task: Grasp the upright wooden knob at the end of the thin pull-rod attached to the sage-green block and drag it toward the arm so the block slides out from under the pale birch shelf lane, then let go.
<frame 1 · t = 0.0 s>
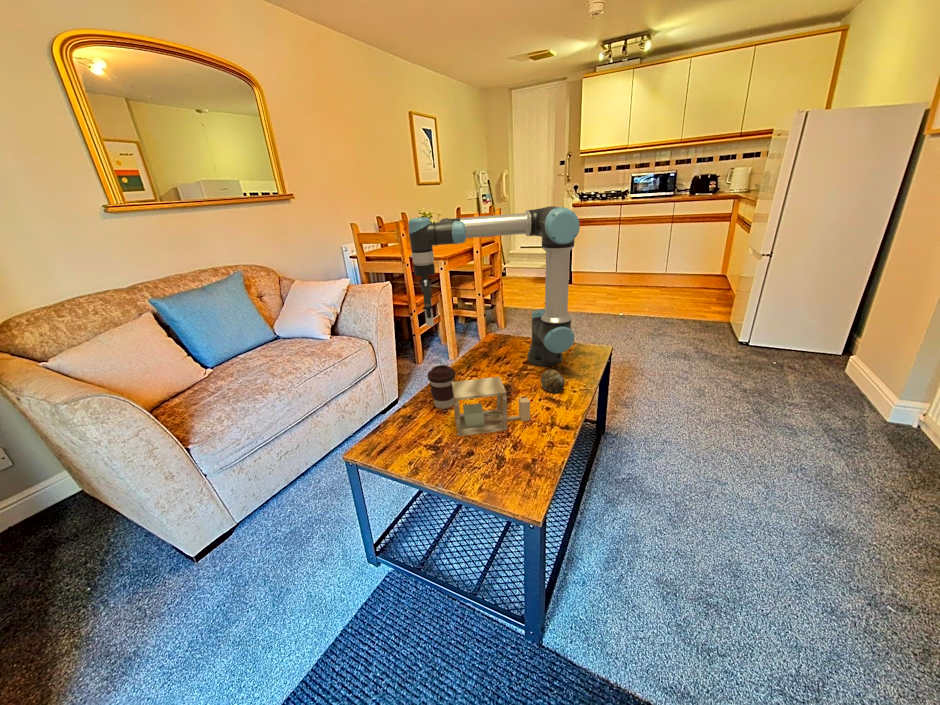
hand: (429, 320, 149), 28 cm above the table, fingers open, 13 cm apart
tethered block: (474, 424, 130), point 1 cm above the table, touching shelf lane
shelf lane: (480, 426, 131), on the table
seashell: (552, 389, 151), on the table
coffee cup: (444, 406, 145), on the table
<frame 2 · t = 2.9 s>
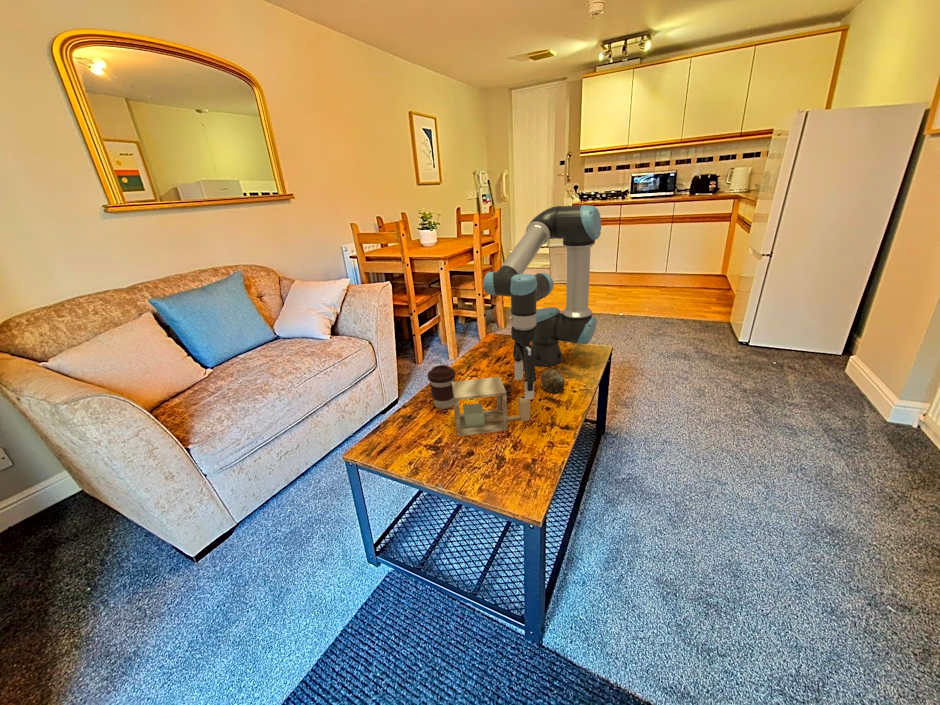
hand: (523, 388, 127), 12 cm above the table, fingers open, 13 cm apart
nothing on the table moved.
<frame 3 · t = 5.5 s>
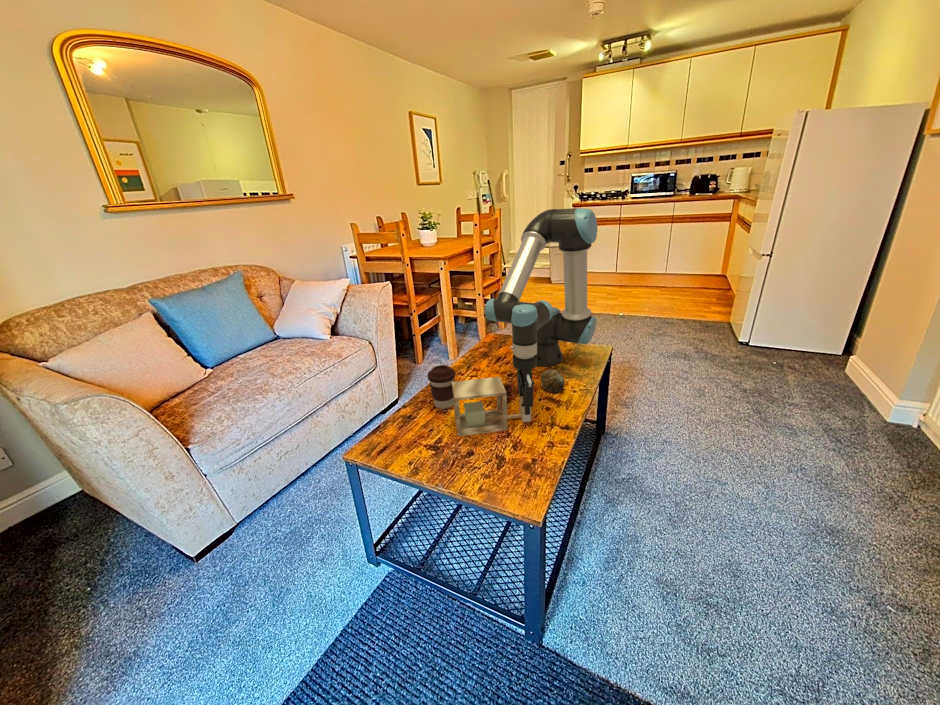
hand: (525, 418, 132), 1 cm above the table, fingers closed on tethered block, 3 cm apart
tethered block: (475, 422, 130), point 2 cm above the table, touching gripper
everything else where it was.
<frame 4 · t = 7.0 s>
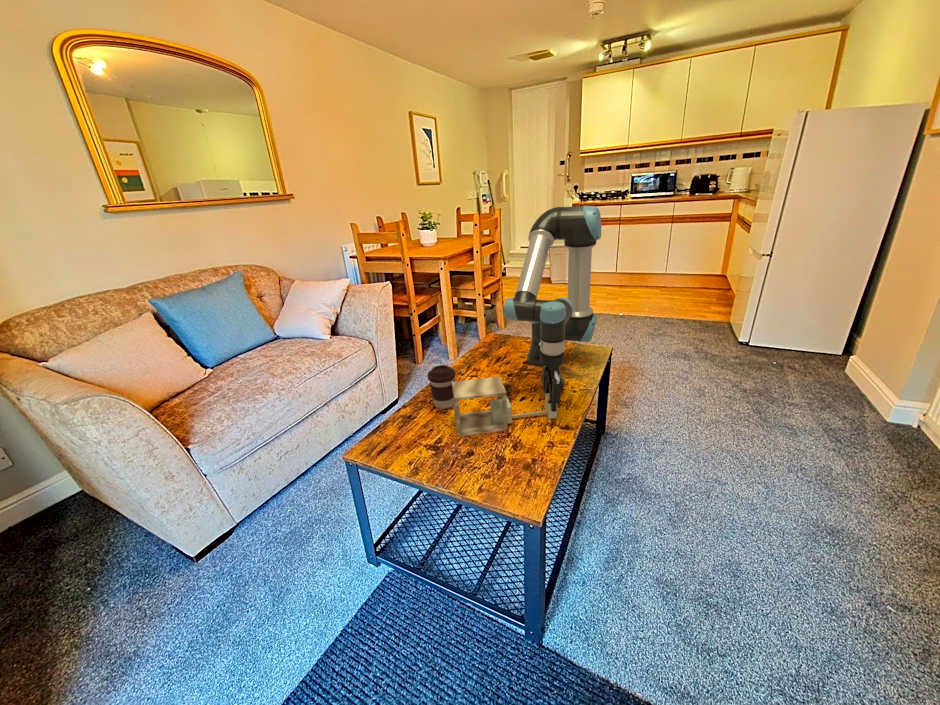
hand: (550, 415, 133), 1 cm above the table, fingers closed on tethered block, 3 cm apart
tethered block: (501, 419, 131), point 2 cm above the table, touching gripper
everything else where it was.
when the fingers open (1 cm above the table, at t = 8.9 s): tethered block drops 2 cm, on the table.
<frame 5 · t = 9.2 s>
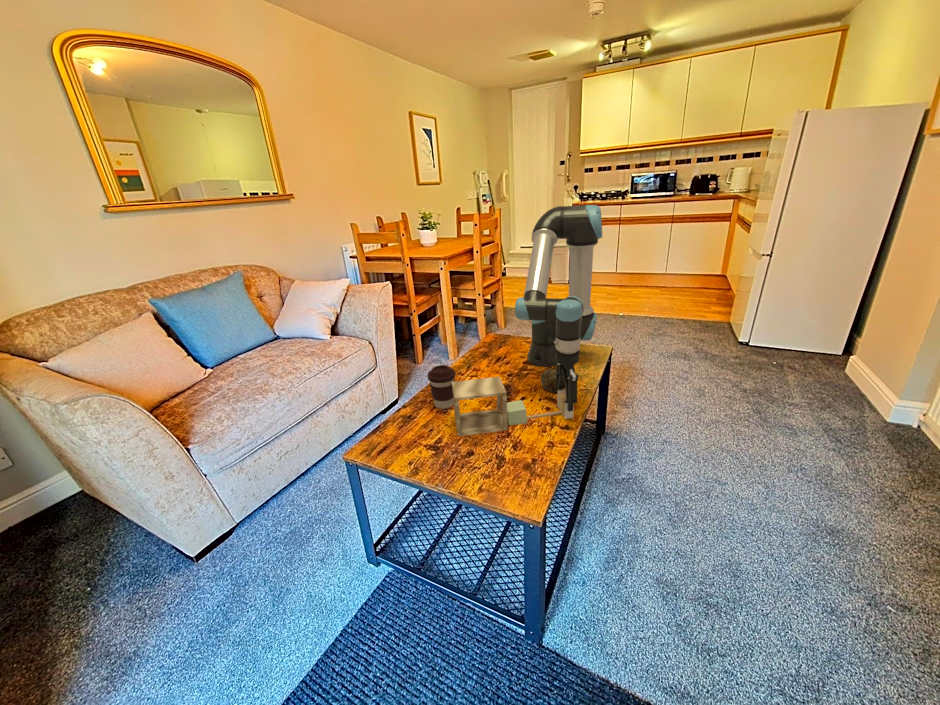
hand: (565, 412, 133), 1 cm above the table, fingers open, 7 cm apart
tethered block: (516, 421, 132), on the table
everything else where it was.
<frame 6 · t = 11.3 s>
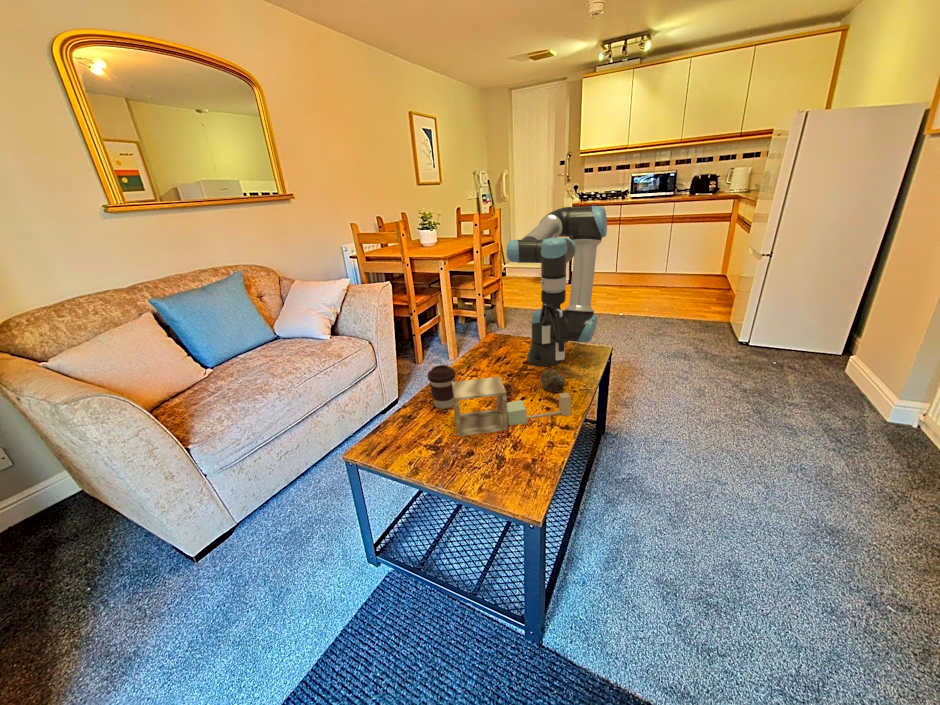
hand: (552, 351, 132), 21 cm above the table, fingers open, 13 cm apart
nothing on the table moved.
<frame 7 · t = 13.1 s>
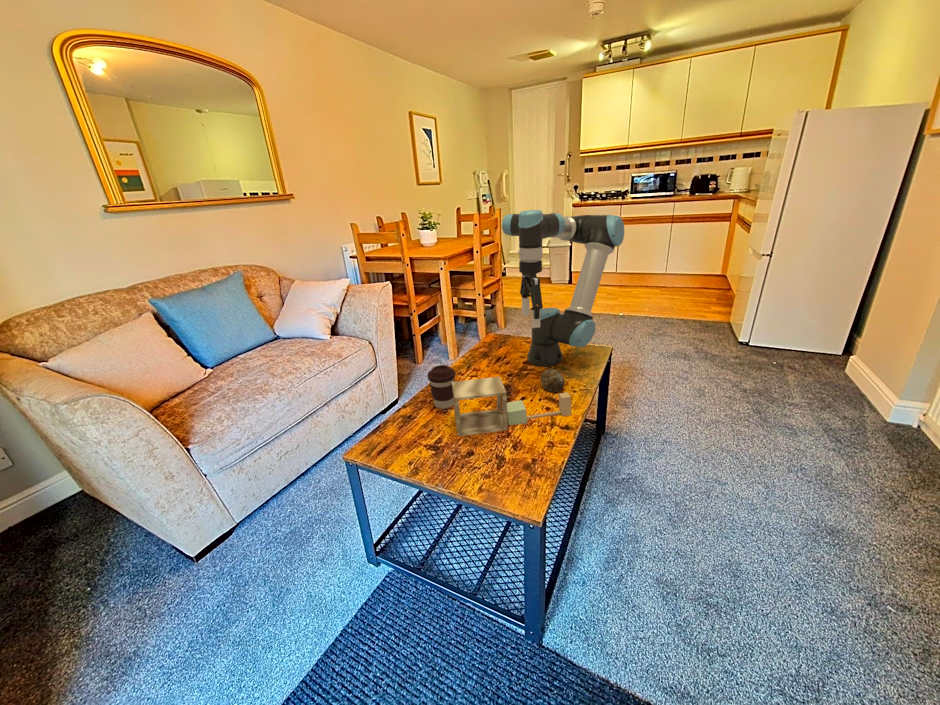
hand: (530, 321, 138), 29 cm above the table, fingers open, 13 cm apart
nothing on the table moved.
at the end: tethered block inside the target area (1.4 cm from its centre), on the table; tethered block moved 14.2 cm from its start; the gripper is holding nothing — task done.
